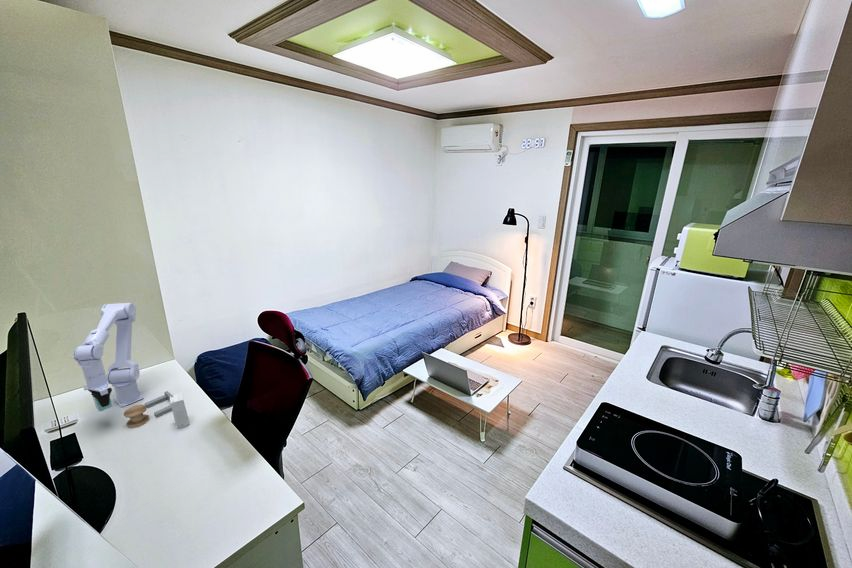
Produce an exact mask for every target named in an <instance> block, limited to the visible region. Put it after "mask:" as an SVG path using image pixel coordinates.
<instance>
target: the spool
mask: <svg viewBox="0 0 852 568" xmlns="http://www.w3.org/2000/svg"><path fill="white" fill-rule="evenodd" d="M147 409H148V408H146V405H145V404H136V405H133V406H131V407H129V408H127V409H126V410H125V411H124V412H123V415H124V417H125V418H129V419H128V420H127V422H126V426H127V428H137V427H140V426H143V425H144V424H146V423H148V421H149V420H150V417H149V415H148V414H144V413H145V412H146V411H147Z"/></svg>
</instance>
